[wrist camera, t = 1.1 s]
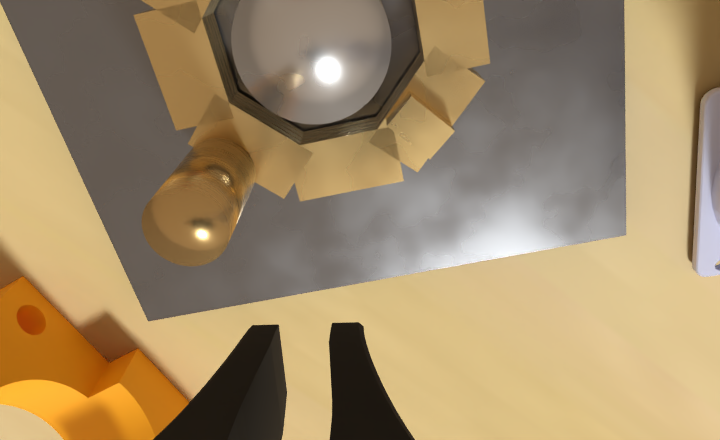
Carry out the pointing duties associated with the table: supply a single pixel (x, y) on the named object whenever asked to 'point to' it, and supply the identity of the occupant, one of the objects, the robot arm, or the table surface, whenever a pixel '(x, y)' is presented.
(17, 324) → the pipe clamp
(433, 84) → the ring nut
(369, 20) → the housing
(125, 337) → the table surface
